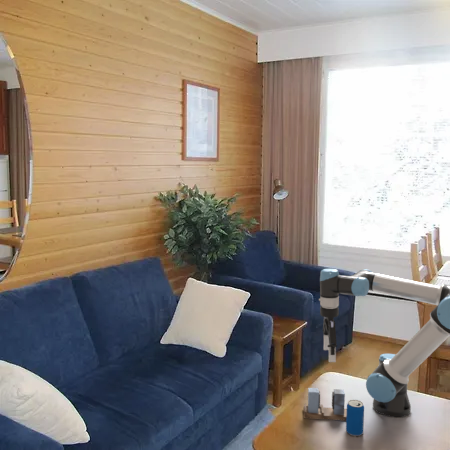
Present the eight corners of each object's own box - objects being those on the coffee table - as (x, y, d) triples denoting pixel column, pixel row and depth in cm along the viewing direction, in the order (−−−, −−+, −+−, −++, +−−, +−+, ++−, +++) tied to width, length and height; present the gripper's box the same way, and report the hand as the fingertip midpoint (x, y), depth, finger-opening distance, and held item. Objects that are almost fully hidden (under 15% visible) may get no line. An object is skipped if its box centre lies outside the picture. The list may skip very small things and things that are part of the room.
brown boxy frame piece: (347, 412, 212) (348, 388, 211) (349, 420, 205) (350, 396, 204) (303, 409, 214) (304, 385, 213) (304, 418, 207) (304, 393, 206)
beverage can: (360, 438, 192) (361, 408, 191) (343, 434, 196) (344, 404, 194) (365, 431, 198) (366, 401, 196) (349, 426, 201) (350, 397, 199)
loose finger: (308, 412, 209) (308, 392, 207) (307, 408, 212) (308, 387, 211) (319, 413, 208) (320, 392, 207) (319, 408, 212) (319, 388, 211)
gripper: (316, 298, 224) (316, 345, 226) (324, 315, 199) (325, 367, 202) (333, 298, 224) (333, 345, 226) (344, 314, 199) (344, 367, 201)
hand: (329, 355), depth 214 cm, fingers open, 13 cm apart
